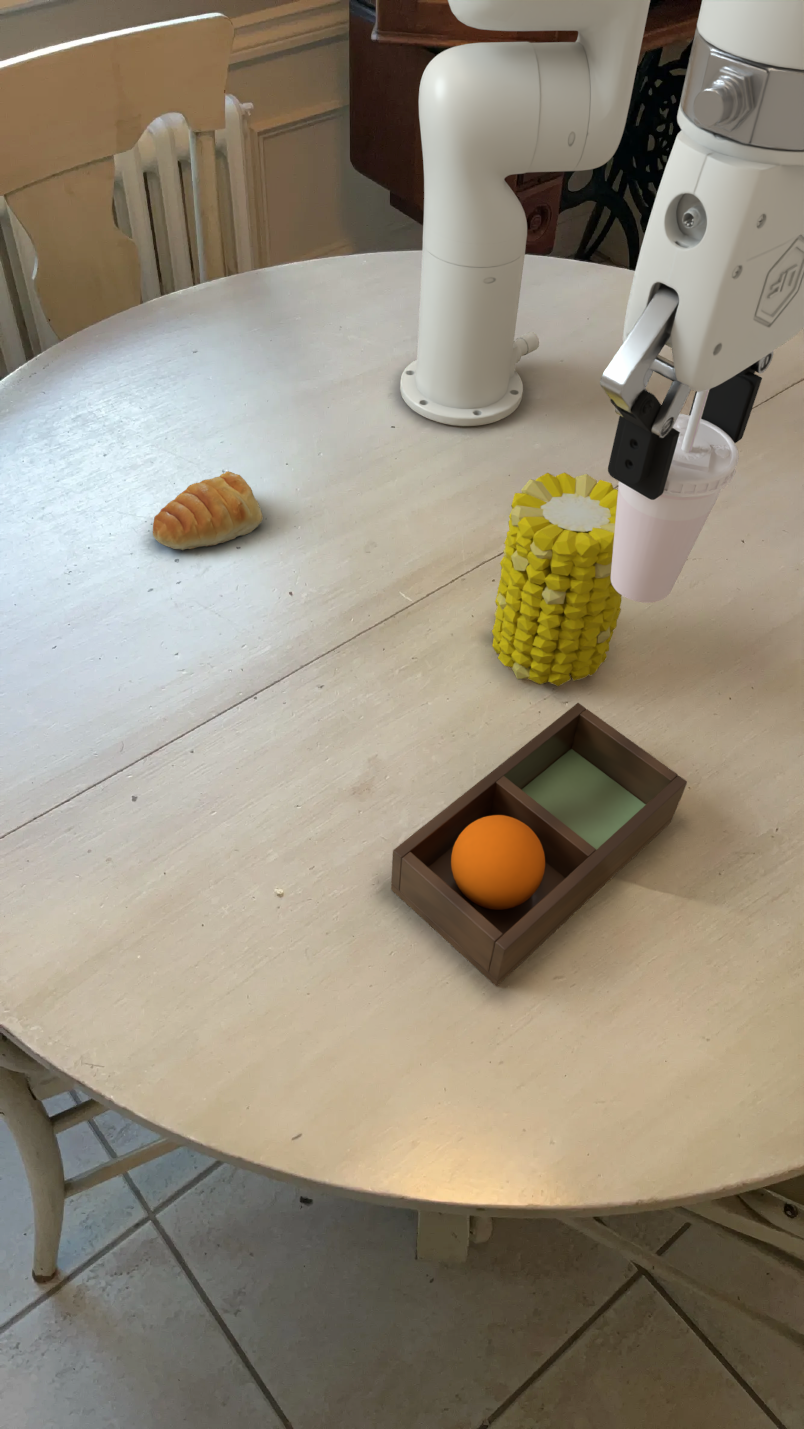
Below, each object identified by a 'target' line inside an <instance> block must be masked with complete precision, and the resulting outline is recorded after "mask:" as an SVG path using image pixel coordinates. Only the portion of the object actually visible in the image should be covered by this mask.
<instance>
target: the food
mask: <svg viewBox="0 0 804 1429" xmlns="http://www.w3.org/2000/svg"><path fill="white" fill-rule="evenodd" d="M520 491H521V492H514V494H513V499H512V501H511V505H510V506H511V511H510V514H509V515H508V517H509V520H508V531H507V532H506V537H505V540H504V543H503V544H504V548H503V551H502V552H503V557H502V558H501V560H500V562H499V565H500V567H501V569H500V579H499V582H498V587H497V593H496V596H495V600H494V603H495V605H496V609H495V611H494V614H493V615H494V617H495V619H494V624H493V626H492V630H491V632H492V636H493V639H492V646H491V647H492V649H493V650H494V652H495V654H496V655H498V656H497V660H499V661H500V663H501V664H502V665H503V666H504V667H507V668H511V670H512V672H513V673H514V675H515V677H516V679H517V680H530V681H531V682H534V683H535V684H537V685H543V684H546V683H550V684H552V685H555V686H557V687H560V686H562V685H564V684H565V683H567V682H569V681H571V680H572V681H579V680H582V679H585V678H587V677H588V676H591V677H592V676H593V675H595V674H596V672H597V671H598V670H599V668H600V666H601V665H602V664H603V663H605V661H606V660H607V658H608V655H607V653H608V652H609V651H610V642H611V640H612V638H613V635H614V630H616V628H617V627H618V620H619V616H620V613H621V610H622V608H621V605H622V597H623V596H622V595H621V594H620V593H618V592H617V591H616V590H615V588H614V587H613V585H612V583H611V566H612V555H613V543H614V532H615V520H616V509H617V497H618V488H617V489H616V488H615V487H614V485H613V483H612V482H609V481H606V480H602V479H599V480H597V479H595V478H594V477H592V476H591V475H589V474H587V473H584V474H581V475H577V476H575V477H573V476H572V475H570V474H568V473H567V472H563V473H559V474H557V475H556V476H555V475H553V474H551V473H549V472H546V473H544V474H542V475H541V476H538V477H537V478H536V479H529V480H528V481H527V482H526V483H525V484H524V486H523V487H522V488H521V489H520Z"/></svg>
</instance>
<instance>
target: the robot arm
mask: <svg viewBox="0 0 804 1429" xmlns="http://www.w3.org/2000/svg"><path fill="white" fill-rule="evenodd" d="M447 2H448V5H449V8H450V11H451V13H452V14H453V16H455V18H456V19H457V21H459V22H461V23H462V24H464V25H465V26H467V27H470V28H474V29H477V30H484V31H495V32H496V31H497V32H498V31H499V32H500V31H501V32H554V31H555V32H556V31H559V32H560V31H562V32H577V38H576V40H575V41H559V42H558V41H554V42H530V41H497V42H496V41H495V42H494V41H493V42H473V43H465V44H461V45H456V46H452V47H450V48H447V49H444V50H443V51H441V52H440V53H438V54H436V56H434V57H433V58H432V59H431V60H430V61H429V62H428V64H427V65H426V66H425V69H424V71H423V73H422V76H421V79H420V82H419V83H420V84H419V91H418V119H419V129H420V141H421V151H422V160H423V161H422V164H423V192H424V193H423V198H424V199H423V223H422V246H421V247H422V248H421V252H422V253H421V267H420V268H421V270H420V288H419V291H420V292H419V305H418V306H419V307H418V308H419V310H418V325H417V326H418V328H417V346H416V347H417V348H416V349H417V350H416V359H415V360H413V361H411V362H410V363H409V364H408V365H407V366H406V367H405V368H404V370H403V371H402V373H401V377H400V384H399V391H400V395H401V397H402V399H403V401H404V403H405V404H406V406H408V407H409V408H410V410H412V411H413V412H415V413H417V414H418V415H420V416H422V417H423V418H426V419H428V420H430V421H434V422H437V423H439V424H444V425H448V426H458V427H477V426H483V425H488V424H492V423H495V422H499V421H500V420H503V419H505V418H507V417H508V416H510V415H511V414H512V413H514V412H515V411H516V410H517V409H518V407H519V406H520V404H521V402H522V399H523V394H524V386H523V384H524V383H523V381H522V379H521V376H520V375H519V374H518V372H517V371H516V364H518V363H519V362H520V361H521V358H522V357H524V356H527V355H528V354H531V353H533V352H534V351H537V350H538V349H539V347H540V339H539V337H538V335H537V333H535V332H534V331H528V332H526V333H524V334H522V335H520V336H518V337H517V338H515V336H516V329H517V328H516V326H517V321H518V320H517V319H518V311H519V303H520V295H521V288H522V280H523V271H524V265H525V256H526V249H527V248H526V247H527V246H526V245H527V240H528V222H527V217H526V213H525V210H524V208H523V206H522V203H521V201H520V200H519V198H518V197H517V195H516V194H515V192H514V191H513V190H512V188H511V187H510V185H509V184H508V182H506V178H507V177H508V176H511V175H522V174H523V175H524V174H526V173H550V172H551V173H554V172H580V171H590V170H594V169H597V168H600V167H602V166H604V165H605V164H607V163H608V162H609V161H610V160H611V159H612V158H613V156H614V155H615V154H616V152H617V150H618V148H619V145H620V143H621V141H622V137H623V134H624V131H625V127H626V123H627V118H628V113H629V109H630V105H631V99H632V94H633V91H634V90H633V89H634V83H635V78H636V74H637V70H638V69H637V68H638V64H639V59H640V53H641V49H642V45H643V38H644V34H645V27H646V24H647V20H648V19H647V18H648V13H649V8H650V3H651V0H447ZM689 54H690V55H689V60H688V64H687V68H686V72H685V78H684V82H683V86H682V91H681V97H680V101H679V106H678V110H677V115H676V122H677V125H678V126H679V128H680V131H679V132H678V133H677V135H676V137H675V140H674V143H673V145H672V149H671V151H670V154H669V156H668V159H667V162H666V165H665V167H664V171H663V174H662V177H661V180H660V183H659V186H658V188H657V191H656V192H657V193H656V195H655V198H654V202H653V205H652V207H651V212H650V215H649V219H648V222H647V225H646V230H645V232H644V236H643V240H642V243H641V247H640V249H639V254H638V257H637V262H636V266H635V269H634V274H633V278H632V283H631V286H630V292H629V295H628V300H627V305H626V311H625V317H624V322H623V331H622V344H621V345H620V347H618V350H617V351H616V353H615V354H614V356H613V357H612V358H611V360H610V362H609V364H608V365H607V366H606V368H605V369H604V371H603V373H602V375H601V377H600V380H599V385H600V387H601V388H602V389H603V391H604V393H606V395H607V396H608V397H609V399H610V403H611V404H612V405H613V406H614V413H615V414H616V415H618V416H619V417H618V421H617V425H616V430H615V435H614V439H613V444H612V448H611V452H610V453H611V454H610V457H609V460H608V466H607V472H608V474H609V476H610V477H611V478H613V479H615V480H616V481H618V482H619V481H620V482H621V483H623V484H625V485H626V486H628V487H630V488H631V489H633V490H635V491H637V492H638V493H640V494H642V495H643V496H645V497H647V498H649V499H651V500H655V499H656V498H658V497H659V496H661V495H662V494H663V491H664V488H665V484H666V481H667V477H668V473H669V470H670V466H671V463H672V459H673V455H674V452H675V448H676V445H677V441H678V437H679V434H680V432H679V431H677V430H675V429H674V428H673V426H674V424H675V422H676V420H677V418H678V416H679V414H681V411H682V409H683V407H684V405H685V403H686V401H687V399H688V397H689V395H690V393H691V391H694V392H695V393H694V396H693V399H692V402H691V406H690V409H689V410H690V411H689V414H688V415H691V412H692V408H693V405H694V401H695V398H696V394H697V392H701V391H705V390H709V389H710V390H709V393H708V396H707V400H706V403H705V407H704V410H703V414H702V417H701V419H703V420H706V421H708V422H710V423H712V424H714V425H716V426H717V427H719V428H720V429H722V430H723V431H724V432H726V433H727V434H728V435H729V436H730V437H731V438H732V440H733V441H734V443H735V444H736V443H738V442H739V441H741V440H742V439H743V437H744V434H745V431H746V429H747V425H748V422H749V420H750V416H751V413H752V410H753V407H754V404H755V401H756V398H757V395H758V392H759V389H760V386H761V383H762V381H763V377H761V376H760V375H758V374H763V373H765V371H767V369H768V368H769V366H770V364H771V362H772V360H773V358H774V351H775V350H777V349H779V348H780V347H782V346H783V345H784V344H786V343H787V342H789V341H790V340H791V339H793V338H794V337H795V336H797V335H798V334H799V333H800V332H801V331H802V330H803V328H804V0H701V4H700V9H699V12H698V18H697V22H696V27H695V32H694V36H693V41H692V44H691V50H690V53H689ZM665 346H667V347H668V348H670V349H671V354H672V360H671V359H668V358H666V357H664V356H662V355H660V353H661V351H662V350H663V348H664V347H665ZM653 372H654V373H656V374H658V375H660V376H662V377H664V378H666V379H667V380H669V381H671V384H670V386H669V387H668V390H667V391H666V395H665V396H664V399H663V400H662V403H661V402H660V401H659V400H658V398H657V397H656V396H655V394H654V393H652V392H650V391H648V390H647V389H646V388H647V386H648V384H649V382H650V380H651V378H652V375H653ZM756 373H758V374H756Z"/></svg>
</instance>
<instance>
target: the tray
mask: <svg viewBox="0 0 804 1429" xmlns="http://www.w3.org/2000/svg"><path fill="white" fill-rule="evenodd" d="M687 784H688V781H687V780H686V779H685V778H683V777H682V776H680V775H679V774H678V773H677V772H675V771H673V769H671V768H669V766H667V765H666V764H664V763H663V762H661V761H660V760H659V759H658V758H656V757H654V756H653V755H652V754H650V753H649V752H648V751H646V750H645V749H643V748H642V747H641V746H639V745H638V744H636V743H635V742H634V741H632V740H630V739H629V738H628V737H627V736H626V735H624V734H623V733H621V732H620V731H619V730H617V729H615V727H613V726H611V725H610V724H608V722H606V721H604V720H603V719H602V718H601V717H599V716H598V715H596V714H595V713H594V712H592V711H590V709H588V708H586V707H585V706H584V705H582V704H581V703H579V702H577V703H576V704H574V705H573V706H572V707H571V708H569V709H568V710H567V711H565V712H564V713H563V714H562V715H561V716H560V717H558V718H556V720H554V721H553V722H552V723H550V725H548V726H546V728H545V729H543V730H542V731H541V732H539V733H538V734H537V735H535V736H534V737H533V738H532V739H531V740H529V741H528V742H527V743H525V744H524V745H522V746H521V748H519V749H518V750H517V751H516V752H514V753H513V754H512V755H510V756H508V758H507V759H506V760H504V761H503V762H502V763H500V764H499V765H498V766H497V767H495V768H494V769H492V771H490V772H489V773H488V774H486V776H484V777H483V778H481V779H480V780H479V781H478V782H477V783H476V784H474V785H473V786H472V787H470V788H469V789H468V790H467V791H466V792H464V793H463V794H461V795H460V796H459V797H457V799H455V800H454V801H453V802H451V803H450V804H449V805H448V806H447V807H445V808H444V809H443V810H442V811H440V812H439V813H438V814H437V815H435V816H434V817H433V818H432V819H430V820H429V821H428V822H427V823H425V824H424V825H423V826H421V828H419V829H417V830H416V831H415V832H414V833H413V834H411V836H410V835H409V837H408V838H407V839H405V840H404V841H402V843H400V844H399V845H398V846H396V847H395V848H394V849H392V859H391V861H392V862H391V879H390V880H391V882H390V883H391V884H390V890H391V891H392V892H393V893H394V894H395V895H396V896H398V898H399V899H400V900H402V901H403V902H404V903H405V904H406V905H407V906H408V908H410V909H411V910H412V911H414V912H415V913H416V914H417V915H418V916H419V917H420V918H421V919H422V920H424V921H425V923H427V924H428V925H429V926H430V927H431V928H432V929H433V930H434V931H435V932H437V933H438V934H439V935H440V936H441V937H442V938H443V939H444V940H445V941H446V942H447V943H448V944H449V945H451V947H452V948H454V950H456V951H457V952H458V953H459V954H460V955H461V956H463V958H464V959H465V960H467V962H469V963H470V964H471V965H472V966H474V968H476V969H477V970H478V971H479V972H480V973H481V974H482V975H483V976H484V977H485V978H486V979H487V980H489V981H490V982H491V983H492V984H493V985H494V986H495V987H498V986H499V985H500V984H501V983H502V982H503V981H505V979H506V978H508V977H509V976H510V975H511V974H512V973H513V972H514V971H515V970H516V969H517V968H518V967H519V966H521V965H522V964H523V962H524V961H526V960H527V959H528V958H529V957H530V956H531V955H532V954H533V953H534V952H535V951H536V950H537V949H538V948H539V947H541V946H542V945H543V944H544V943H545V942H546V941H547V940H548V939H549V938H550V937H551V936H552V935H554V933H555V932H556V931H557V930H558V929H559V928H561V926H563V925H564V924H565V923H566V922H568V920H569V919H570V918H571V917H572V916H573V915H575V913H576V912H578V911H579V909H581V908H582V907H583V906H584V905H585V904H586V903H587V902H588V901H589V900H590V899H591V898H592V897H593V896H595V894H597V893H598V892H599V891H601V889H602V888H603V887H604V886H605V885H606V884H608V882H609V881H611V879H612V878H614V877H615V875H617V874H618V873H619V872H620V871H621V870H622V869H623V868H624V867H626V866H627V864H628V863H629V862H630V861H632V860H633V859H634V858H635V857H637V855H638V854H639V853H640V852H641V851H642V850H644V849H645V847H647V846H648V845H649V844H650V843H651V842H652V841H653V840H654V839H655V838H656V837H657V836H658V835H659V834H660V833H661V832H662V831H663V830H664V829H665V828H667V827H668V825H670V824H671V823H672V822H673V818H674V816H675V813H676V811H677V809H678V807H679V805H680V804H679V803H680V801H681V799H682V797H683V794H684V791H685V789H686V786H687ZM492 815H504V816H509V817H512V818H515V819H517V820H519V821H521V822H523V823H524V824H526V825H527V826H528V827H529V828H530V829H532V831H533V832H534V833H535V834H536V836H537V837H538V839H539V840H540V843H541V845H542V847H543V851H544V856H545V870H544V875H543V879H542V881H541V883H540V885H539V887H538V889H537V890H536V891H535V893H534V894H533V895H532V896H531V897H530V898H529V899H528V900H526V901H525V902H524V903H522V904H520V905H518V906H516V907H513V908H509V909H503V910H494V909H488V908H485V907H481V906H479V905H477V904H475V903H474V902H472V901H471V900H470V899H468V898H467V897H466V896H465V895H464V894H463V893H462V892H461V890H460V889H459V887H458V886H457V884H456V882H455V879H454V877H453V873H452V868H451V855H452V851H453V847H454V844H455V842H456V840H457V838H458V837H459V835H460V834H461V832H462V831H463V830H464V829H465V828H466V827H467V826H468V825H470V824H471V823H472V822H474V821H476V820H478V819H480V818H483V817H486V816H492Z"/></svg>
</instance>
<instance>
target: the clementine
mask: <svg viewBox="0 0 804 1429" xmlns="http://www.w3.org/2000/svg"><path fill="white" fill-rule="evenodd" d="M451 868H452V873H453V877H454V879H455V882H456V884H457V886H458V887H459V889H460V890H461V892H462V893H463V894H464V895H465V896H466V897H467V898H468V899H470V900H471V901H472V902H474V903H475V904H477V905H479V906H481V907H485V908H488V909H494V910H503V909H509V908H513V907H516V906H518V905H520V904H522V903H524V902H525V901H526V900H528V899H529V898H530V897H531V896H532V895H533V894H534V893H535V891H536V890H537V889H538V887H539V885H540V883H541V881H542V879H543V875H544V870H545V856H544V851H543V847H542V845H541V843H540V840H539V839H538V837H537V836H536V834H535V833H534V832H533V831H532V829H530V828H529V827H528V826H527V825H526V824H524V823H523V822H521V821H519V820H517V819H515V818H512V817H509V816H504V815H492V816H486V817H483V818H480V819H478V820H476V821H474V822H472V823H471V824H470V825H468V826H467V827H466V828H465V829H464V830H463V831H462V832H461V834H460V835H459V837H458V838H457V840H456V842H455V844H454V847H453V851H452V855H451Z"/></svg>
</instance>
